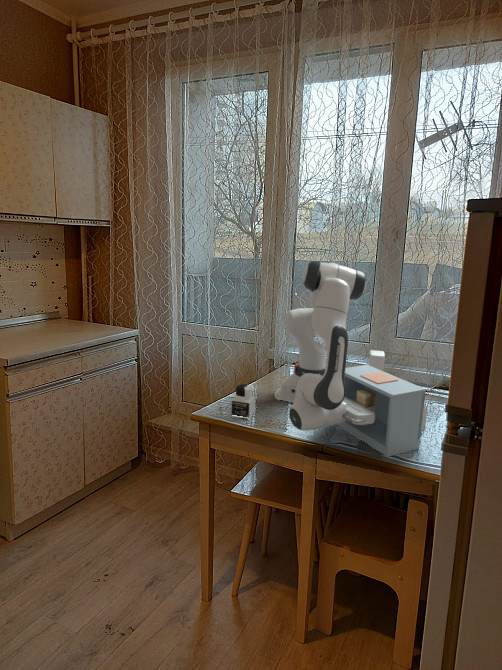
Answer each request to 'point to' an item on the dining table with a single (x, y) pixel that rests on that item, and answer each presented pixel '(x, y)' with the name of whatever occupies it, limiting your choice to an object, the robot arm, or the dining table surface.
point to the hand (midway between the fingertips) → (367, 405)
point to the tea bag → (424, 418)
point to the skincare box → (377, 359)
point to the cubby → (387, 410)
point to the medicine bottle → (243, 401)
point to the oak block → (366, 398)
